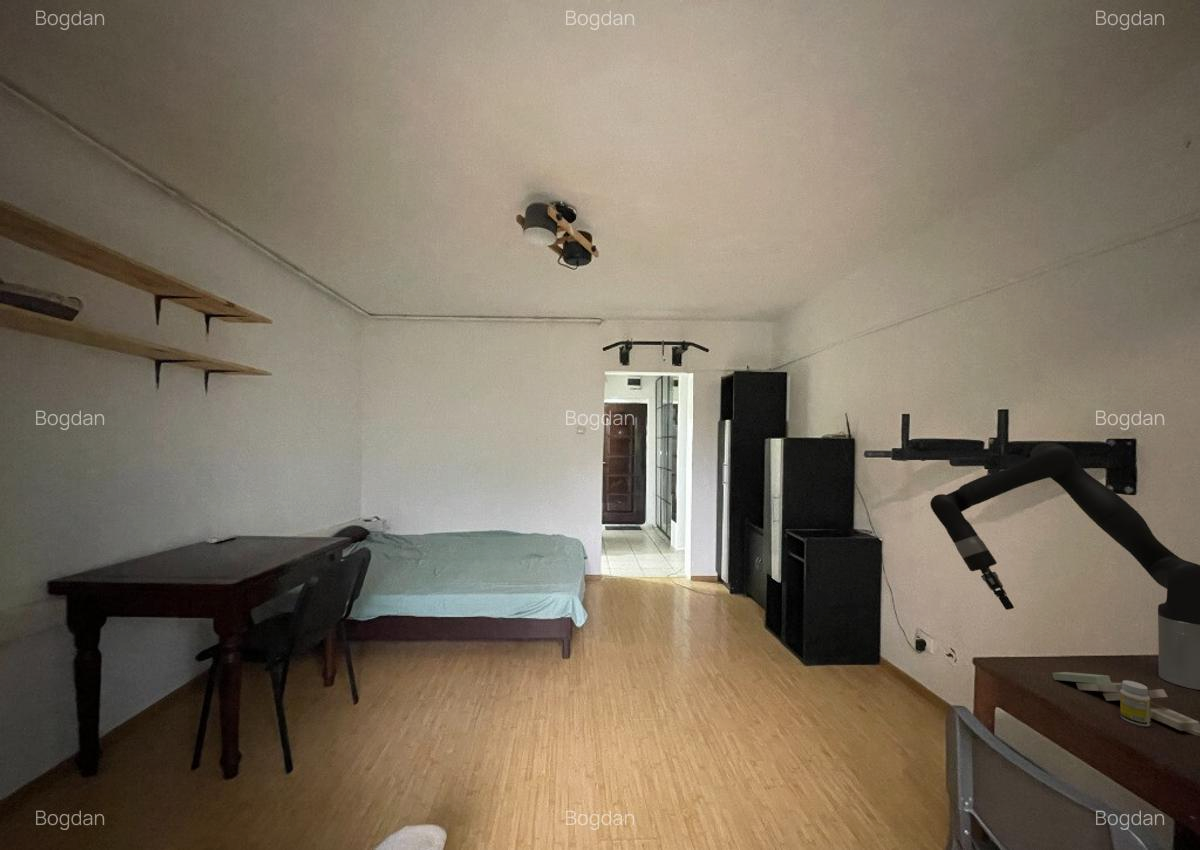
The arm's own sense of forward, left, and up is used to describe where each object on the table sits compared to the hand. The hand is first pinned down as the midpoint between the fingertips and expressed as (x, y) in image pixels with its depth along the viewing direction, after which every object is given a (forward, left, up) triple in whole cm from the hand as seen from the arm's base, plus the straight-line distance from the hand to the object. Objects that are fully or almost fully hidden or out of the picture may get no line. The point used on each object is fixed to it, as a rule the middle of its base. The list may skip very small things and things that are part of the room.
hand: (1010, 608), depth 145 cm
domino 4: (+3, +28, -13) cm, 31 cm away
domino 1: (+2, +13, -14) cm, 19 cm away
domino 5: (+2, +29, -15) cm, 33 cm away
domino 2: (+2, +18, -14) cm, 23 cm away
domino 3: (+3, +24, -14) cm, 27 cm away
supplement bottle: (+11, +31, -15) cm, 36 cm away
